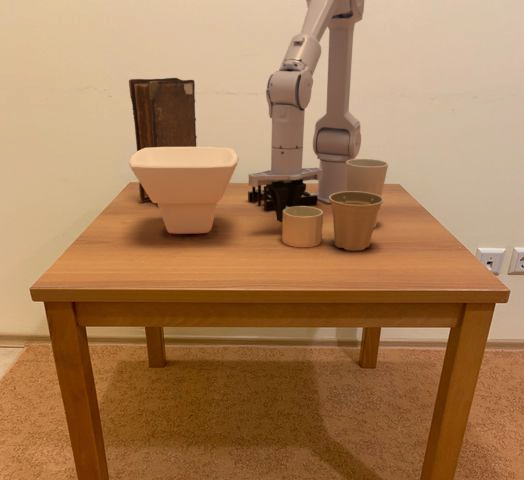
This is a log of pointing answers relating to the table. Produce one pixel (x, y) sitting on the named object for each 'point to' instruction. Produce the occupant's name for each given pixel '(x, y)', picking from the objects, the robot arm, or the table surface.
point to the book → (163, 114)
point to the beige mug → (302, 226)
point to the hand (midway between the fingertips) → (284, 220)
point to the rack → (268, 203)
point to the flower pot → (354, 218)
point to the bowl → (185, 183)
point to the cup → (366, 176)
